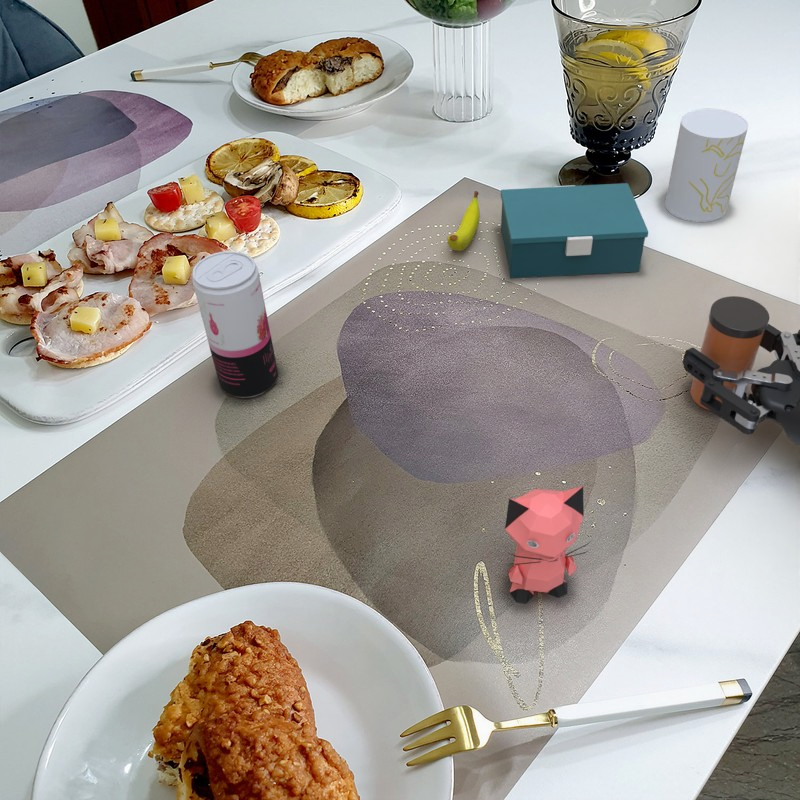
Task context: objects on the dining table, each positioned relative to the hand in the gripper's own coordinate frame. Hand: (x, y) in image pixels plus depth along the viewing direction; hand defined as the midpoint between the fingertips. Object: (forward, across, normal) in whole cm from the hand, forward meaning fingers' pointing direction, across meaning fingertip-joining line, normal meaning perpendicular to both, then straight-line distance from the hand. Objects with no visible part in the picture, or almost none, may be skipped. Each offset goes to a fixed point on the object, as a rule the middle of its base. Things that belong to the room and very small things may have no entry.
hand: (716, 339), depth 87 cm
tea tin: (-2, 0, +6) cm, 7 cm away
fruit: (+37, +4, +7) cm, 38 cm away
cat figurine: (-9, +30, +7) cm, 32 cm away
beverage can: (+29, +40, +7) cm, 50 cm away
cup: (+26, -26, +7) cm, 37 cm away
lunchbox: (+28, -5, +6) cm, 29 cm away
